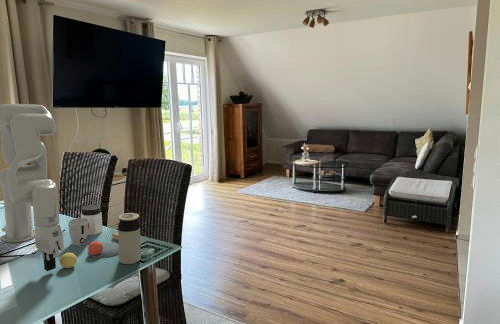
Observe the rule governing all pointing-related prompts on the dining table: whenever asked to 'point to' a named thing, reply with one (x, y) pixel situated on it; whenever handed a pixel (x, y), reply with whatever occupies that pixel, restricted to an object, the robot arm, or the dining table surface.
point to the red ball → (95, 248)
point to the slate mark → (107, 251)
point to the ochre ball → (68, 260)
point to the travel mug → (129, 238)
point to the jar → (93, 218)
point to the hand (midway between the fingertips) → (50, 269)
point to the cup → (79, 230)
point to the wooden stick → (115, 237)
